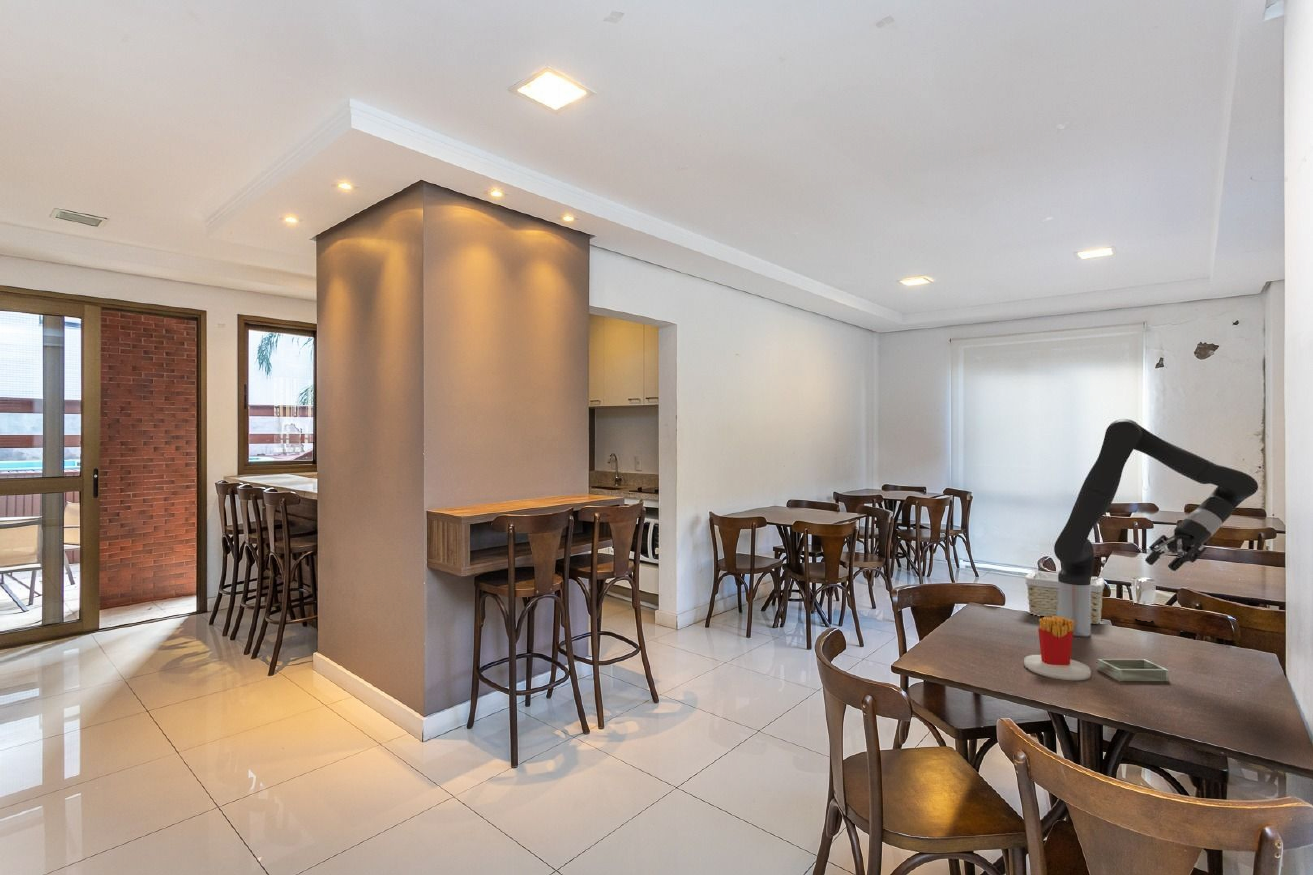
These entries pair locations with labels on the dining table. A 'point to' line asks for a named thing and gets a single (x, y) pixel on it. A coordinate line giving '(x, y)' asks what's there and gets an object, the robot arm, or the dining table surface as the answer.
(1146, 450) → the robot arm
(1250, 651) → the dining table surface
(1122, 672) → the open rectangular box
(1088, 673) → the ceramic plate
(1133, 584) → the beer glass
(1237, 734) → the dining table surface
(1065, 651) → the french fries
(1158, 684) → the dining table surface
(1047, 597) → the storage basket
